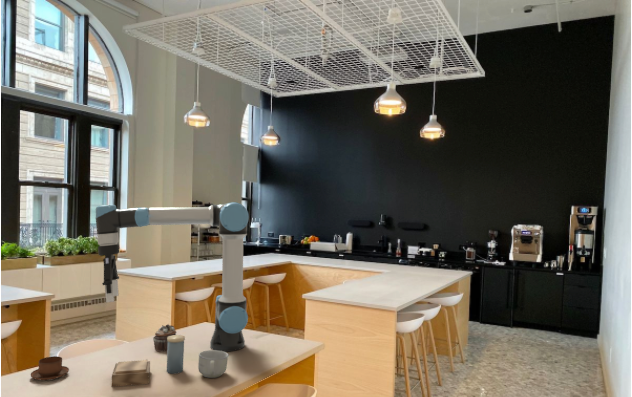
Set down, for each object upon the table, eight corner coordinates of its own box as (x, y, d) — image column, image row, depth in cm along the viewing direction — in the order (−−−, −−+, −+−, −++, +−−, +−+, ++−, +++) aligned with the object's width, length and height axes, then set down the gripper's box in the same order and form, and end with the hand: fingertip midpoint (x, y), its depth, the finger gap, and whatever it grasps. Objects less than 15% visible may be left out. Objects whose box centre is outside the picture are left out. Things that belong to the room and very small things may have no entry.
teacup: (202, 369, 177) (203, 348, 177) (230, 370, 177) (231, 349, 177) (191, 383, 163) (192, 360, 164) (221, 384, 163) (222, 362, 163)
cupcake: (164, 343, 208) (165, 321, 208) (180, 347, 203) (181, 324, 203) (147, 349, 199) (148, 326, 199) (164, 353, 195) (165, 329, 195)
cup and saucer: (22, 379, 162) (23, 362, 162) (52, 368, 173) (53, 352, 173) (46, 385, 158) (47, 367, 158) (76, 374, 169) (77, 357, 169)
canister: (183, 367, 179) (184, 334, 179) (183, 373, 173) (185, 339, 173) (166, 368, 177) (167, 335, 177) (165, 374, 171) (167, 340, 171)
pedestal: (149, 371, 173) (150, 358, 173) (148, 383, 162) (149, 370, 162) (115, 374, 169) (115, 361, 169) (111, 386, 158) (111, 372, 158)
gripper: (103, 243, 191) (106, 295, 190) (92, 247, 167) (96, 305, 167) (122, 242, 193) (126, 292, 193) (114, 245, 169) (119, 302, 169)
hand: (112, 298), depth 180 cm, fingers open, 13 cm apart
